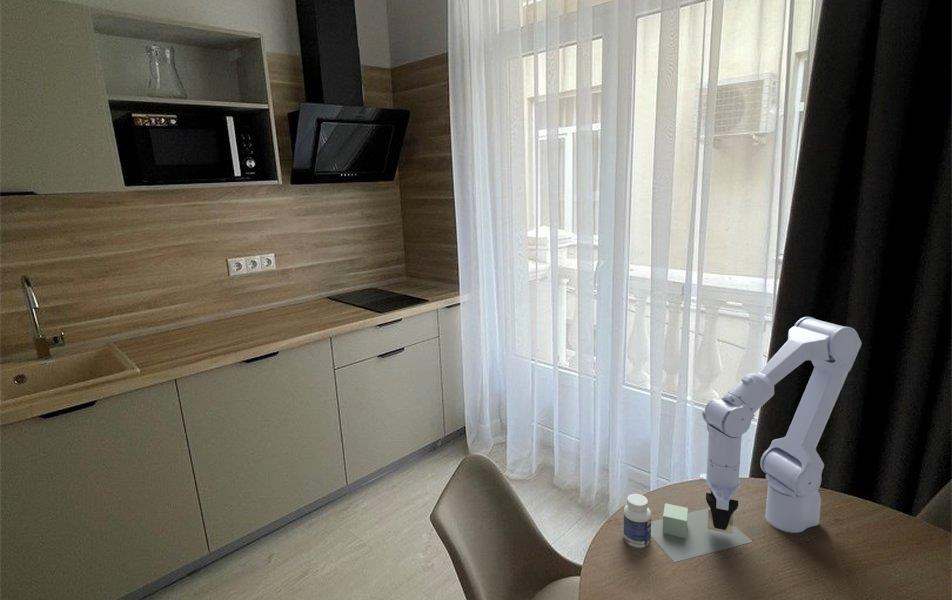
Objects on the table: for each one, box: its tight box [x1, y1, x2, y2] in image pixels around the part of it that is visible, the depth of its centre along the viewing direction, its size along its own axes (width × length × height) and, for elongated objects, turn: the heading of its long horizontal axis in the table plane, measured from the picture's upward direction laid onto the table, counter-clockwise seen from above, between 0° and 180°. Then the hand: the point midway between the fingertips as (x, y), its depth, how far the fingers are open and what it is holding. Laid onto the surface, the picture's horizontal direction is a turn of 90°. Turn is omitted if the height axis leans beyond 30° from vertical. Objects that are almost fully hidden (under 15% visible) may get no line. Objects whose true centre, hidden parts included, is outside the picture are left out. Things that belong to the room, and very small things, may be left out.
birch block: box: [707, 504, 734, 534], centre depth 98 cm, size 4×4×4 cm
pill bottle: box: [622, 493, 652, 548], centre depth 99 cm, size 5×5×10 cm
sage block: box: [662, 503, 689, 538], centre depth 101 cm, size 4×4×4 cm
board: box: [651, 507, 754, 563], centre depth 100 cm, size 18×12×1 cm, turn 104°
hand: (719, 520), depth 98 cm, fingers closed on birch block, 4 cm apart
